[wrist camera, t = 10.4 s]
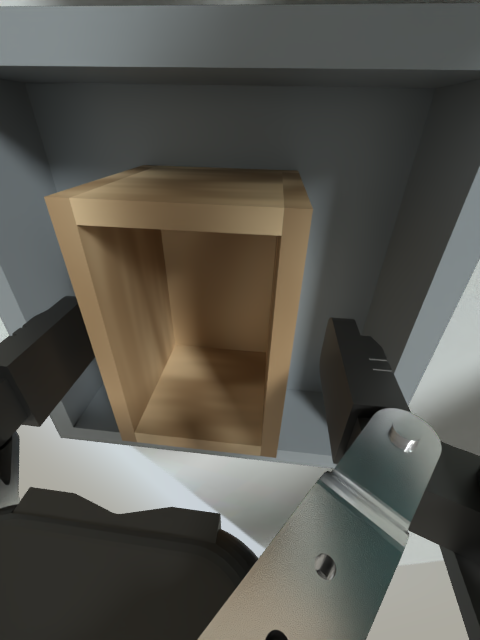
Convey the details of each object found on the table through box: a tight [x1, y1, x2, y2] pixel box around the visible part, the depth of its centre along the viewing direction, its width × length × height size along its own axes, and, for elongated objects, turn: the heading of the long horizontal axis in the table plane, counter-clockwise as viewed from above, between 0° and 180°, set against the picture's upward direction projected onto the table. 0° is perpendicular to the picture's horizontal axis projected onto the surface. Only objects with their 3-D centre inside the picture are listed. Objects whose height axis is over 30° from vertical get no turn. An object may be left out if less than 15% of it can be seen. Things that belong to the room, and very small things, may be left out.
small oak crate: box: [44, 165, 313, 458], centre depth 12 cm, size 6×9×6 cm, turn 178°
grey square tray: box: [0, 3, 480, 469], centre depth 13 cm, size 16×16×5 cm
